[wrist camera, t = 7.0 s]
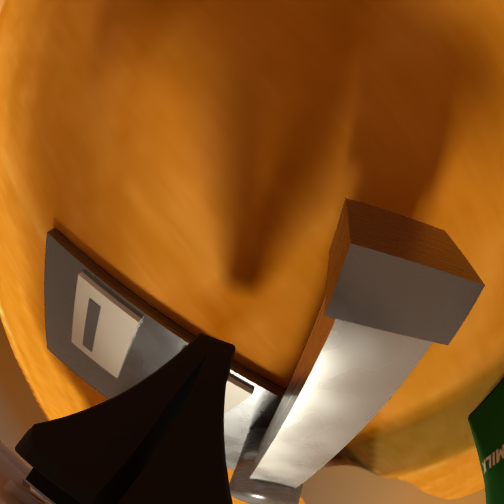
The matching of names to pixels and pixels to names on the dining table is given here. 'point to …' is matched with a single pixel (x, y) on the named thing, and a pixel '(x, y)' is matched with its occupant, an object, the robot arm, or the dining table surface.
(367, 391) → the bar
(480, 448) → the milk carton
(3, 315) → the dining table surface
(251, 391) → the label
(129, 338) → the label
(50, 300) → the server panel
